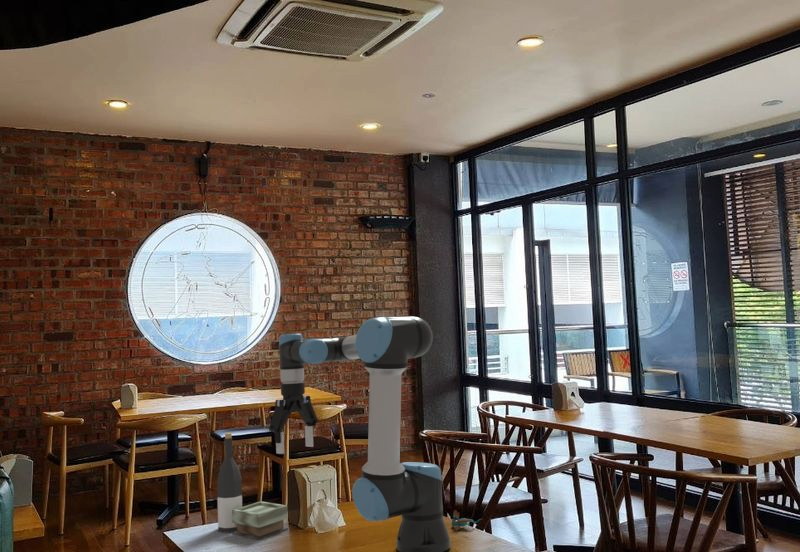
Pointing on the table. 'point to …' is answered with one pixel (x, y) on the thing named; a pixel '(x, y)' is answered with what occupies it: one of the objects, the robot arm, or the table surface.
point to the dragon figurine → (460, 521)
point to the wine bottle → (228, 489)
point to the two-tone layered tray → (260, 520)
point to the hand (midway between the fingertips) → (295, 450)
